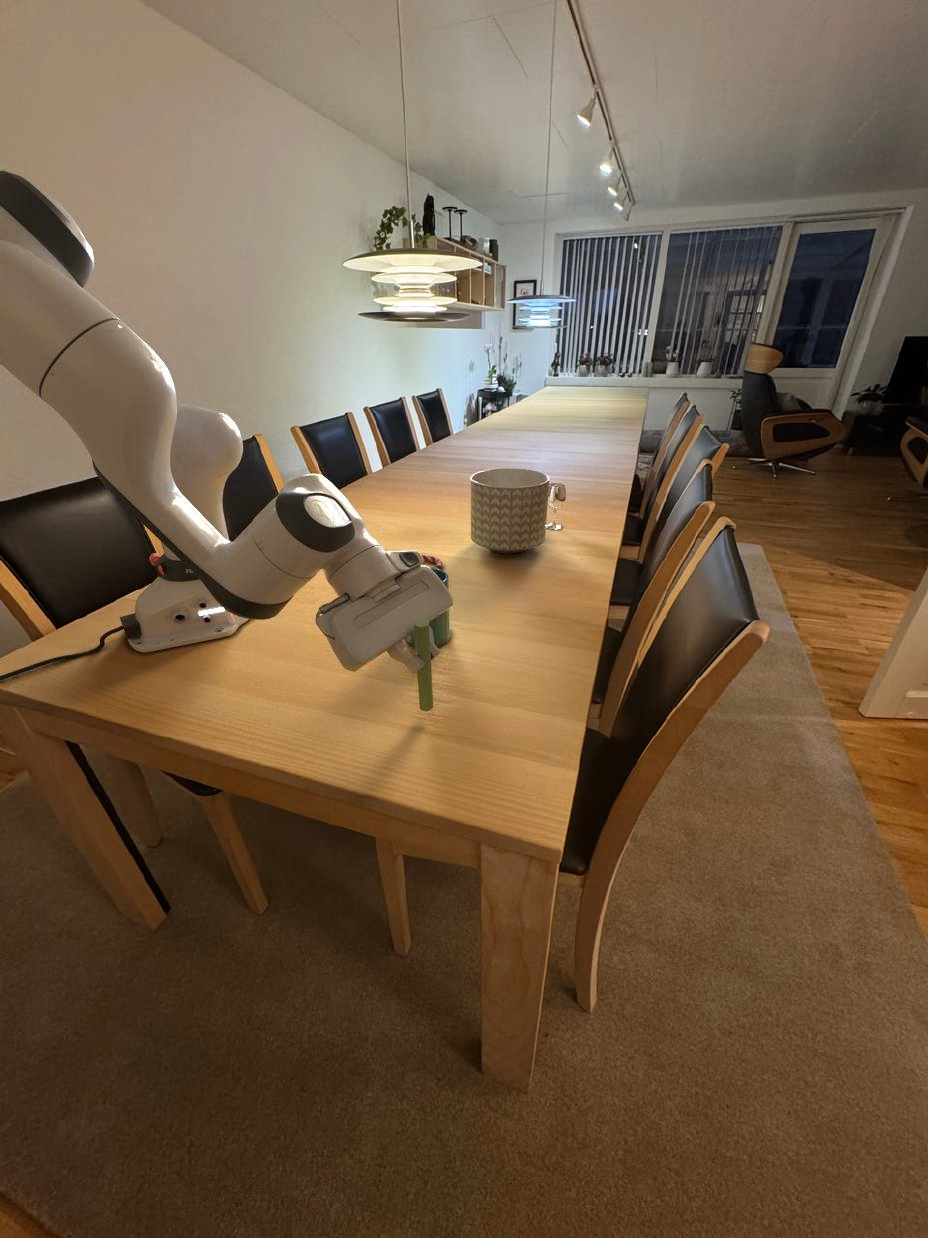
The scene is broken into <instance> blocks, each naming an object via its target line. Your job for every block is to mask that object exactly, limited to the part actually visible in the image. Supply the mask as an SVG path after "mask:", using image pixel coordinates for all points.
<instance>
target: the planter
mask: <svg viewBox="0 0 928 1238" xmlns="http://www.w3.org/2000/svg"><path fill="white" fill-rule="evenodd" d="M549 484H550V476H548V474H546V473H544V472H541V471H537V470H534V469H526V468H508V467H507V468H491V469H485V470H481V471H477V472H475V473H473V474H472V475H471V476H470V539H471V541H472V542H473V543H474V544H476V545H478V546H480V547H483V548H485V549H487V550H490V551H492V552H495V553H499V554H506V555H507V554H511V555H512V554H517V553H518V554H519V553H521V552H525V551H527V550H530V549H533V548H536V547H538V546H540V545H542V544H543V543H544V542H545V540H546V535H547V534H546V532H547V528H546V525H547V519H548V507H549V506H548V492H549Z"/></svg>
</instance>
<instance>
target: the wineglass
mask: <svg viewBox="0 0 928 1238" xmlns="http://www.w3.org/2000/svg"><path fill="white" fill-rule="evenodd" d="M566 489H567V487H566V484H564V483H563V482H552V483H551V482H549V492H548V507H550V508H551V509H552V523H549V524H546V529H548V530H553V531H554V530H560V529H562V526H561V525H560V524H556V515H557V509H558V508H561V507H563V506H564V505H565V504H566V500H567V490H566Z"/></svg>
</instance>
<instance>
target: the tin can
mask: <svg viewBox="0 0 928 1238" xmlns="http://www.w3.org/2000/svg"><path fill="white" fill-rule="evenodd" d="M431 569H432V570H433V571H434V572H435V573H436V575H437V576H438V577H439V578H440V580H441V581H442V582H443V583H444V585H445V586H446V588H447V589H448V590H449V591H450V587H449V586H450V585H449V584H450V583H449V574H448V572H446V571H444V570H443V569H440V570H439V569H435V568H431ZM450 618H451V617H450V608H449V609H448V610H446V611H445V612H444V613H442V614H441V615H439V616H438V617H436V618H435V619H433V620H432V621H430V622H429V626H430V627H431V628H432V632H433V638H434V644H435V645H436V647H437V648H438V647H441V646H443V645H445V644H446V643H447V642H448V641H449V640H450V638H451V625H450ZM405 639H406V642H407V643H408V644H409V645H411V646H413V647H415V634H414V633H412V634H411V635H409V636H408V637H406V638H405Z"/></svg>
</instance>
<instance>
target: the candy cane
mask: <svg viewBox="0 0 928 1238" xmlns="http://www.w3.org/2000/svg"><path fill="white" fill-rule="evenodd" d="M421 555H422V557H423V558H424V562H427V561H428V562H432V563H435V564H436V565H432V566H428V567H429V568H435V569H439V570H442V568H443V565H444V564H443V561H442V560H441V558H438V557H436V556H432V555H427V554H421Z"/></svg>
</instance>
